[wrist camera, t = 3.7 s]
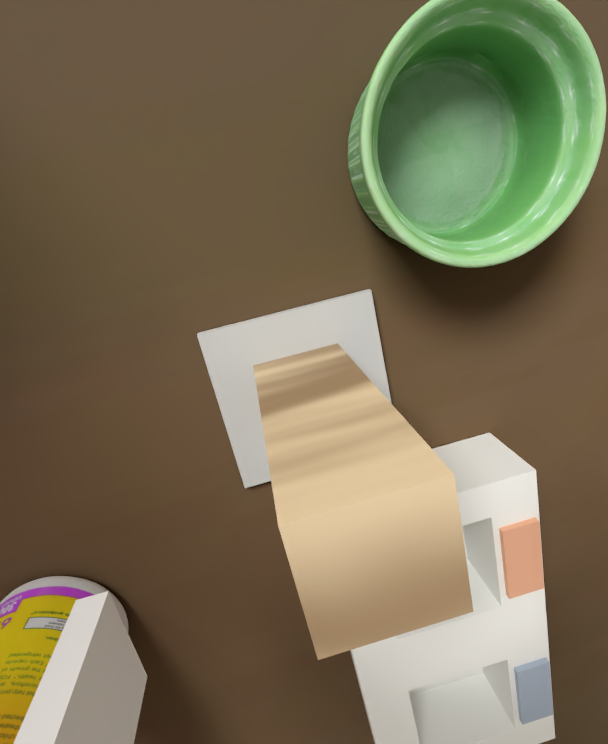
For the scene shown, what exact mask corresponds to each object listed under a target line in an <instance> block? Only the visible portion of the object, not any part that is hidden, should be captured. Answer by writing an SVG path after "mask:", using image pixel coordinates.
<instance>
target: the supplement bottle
mask: <svg viewBox="0 0 608 744" xmlns="http://www.w3.org/2000/svg"><path fill="white" fill-rule="evenodd" d="M107 591H108V590H107V589H106V588H104V587H102V586H101V585H99V584H97V583H95V582H92V581H89V580H87V579H83V578H78V577H71V576H50V577H44V578H40V579H36V580H33V581H30V582H28V583H26V584H23V585H22V586H20V587H18V588H16V589H15V590H13V591H12V592H11V593H10V594H8V595H7V596H6V597H5V598H4V599H3V600H2V601H1V602H0V744H13V743H14V741H15V739H16V736H17V734H18V732H19V730H20V727H21V725H22V723H23V720H24V718H25V716H26V713H27V711H28V709H29V707H30V704H31V702H32V700H33V697H34V695H35V693H36V691H37V688H38V686H39V684H40V681H41V679H42V677H43V675H44V672H45V670H46V668H47V665H48V663H49V661H50V658H51V656H52V654H53V652H54V649H55V647H56V645H57V642H58V640H59V638H60V636H61V633H62V631H63V629H64V626H65V624H66V622H67V619H68V617H69V615H70V613H71V610H72V608H73V606H74V603H75V601H76V600H78V599H82V598H85V597H89V596H93V595H96V594H100V593H103V592H107ZM109 593H110V595H111V597H112V600H113V602H114V604H115V606H116V608H117V610H118V613H119V615H120V617H121V619H122V621H123V624H124V626H125V628H126V630H127V632H128V629H129V628H128V619H127V616H126V613H125V610H124V608H123V606H122V605H121V603H120V602H119V600H118V599H117V598H116V597H115V596H114V595H113V594H112V593H111V592H110V591H109Z"/></svg>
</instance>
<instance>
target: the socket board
mask: <svg viewBox="0 0 608 744" xmlns="http://www.w3.org/2000/svg"><path fill="white" fill-rule="evenodd" d="M432 450H433V451H434V452H435V453H436V454H437V456H438V457H439V458H440V459H441V460H442V461H443V462H444V463H445V464H446V466H447V467H448V468H449V469H450V470H451V471H452V472H453V473H454V475H455V482H456V489H457V496H458V504H459V511H460V518H461V525H462V533H463V540H464V547H465V554H466V561H467V569H468V576H469V583H470V590H471V597H472V605H473V612H471V613H468V614H465V615H461V616H458V617H455V618H452V619H449V620H445V621H442V622H439V623H436V624H432V625H429V626H426V627H423V628H420V629H416V630H413V631H410V632H407V633H404V634H400V635H397V636H394V637H391V638H388V639H384V640H381V641H378V642H375V643H371V644H368V645H365V646H362V647H359V648H355V649H352V650H350V652H351V656H352V660H353V663H354V667H355V671H356V675H357V679H358V683H359V686H360V690H361V694H362V698H363V702H364V705H365V709H366V713H367V717H368V721H369V724H370V728H371V732H372V735H373V739H374V743H375V744H539V743H542V742H545V741H548V740H551V739H554V738H555V728H554V714H553V701H552V687H551V673H550V659H549V645H548V631H547V617H546V603H545V589H544V575H543V561H542V548H541V534H540V520H539V506H538V492H537V478H536V470H535V469H534V468H533V467H531V466H530V465H529V464H528V463H527V462H525V461H524V460H523V459H522V458H520V457H519V456H518V455H517V454H515V453H514V452H513V451H512V450H510V449H509V448H508V447H507V446H505V445H504V444H503V443H502V442H501V441H499V440H498V439H497V438H496V437H494V436H493V435H492V434H491V433H486V434H483V435H479V436H476V437H472V438H469V439H465V440H461V441H458V442H454V443H451V444H447V445H444V446H440V447H437V448H433V449H432Z"/></svg>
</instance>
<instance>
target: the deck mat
mask: <svg viewBox="0 0 608 744" xmlns="http://www.w3.org/2000/svg"><path fill="white" fill-rule="evenodd" d="M197 337H198V340H199V343H200V346H201V349H202V353H203V356H204V359H205V362H206V365H207V369H208V372H209V375H210V378H211V381H212V385H213V388H214V391H215V394H216V397H217V401H218V404H219V407H220V410H221V413H222V417H223V420H224V423H225V426H226V429H227V433H228V436H229V439H230V442H231V445H232V448H233V452H234V455H235V458H236V461H237V464H238V468H239V471H240V474H241V477H242V480H243V484H244V487H245V488H248V487H251V486H255V485H258V484H262V483H265V482H269V481H271V476H270V470H269V464H268V457H267V451H266V445H265V438H264V432H263V425H262V419H261V413H260V406H259V400H258V394H257V387H256V381H255V375H254V368H253V365H257V364H261V363H264V362H268V361H272V360H276V359H280V358H283V357H287V356H291V355H295V354H299V353H302V352H306V351H310V350H314V349H318V348H321V347H325V346H329V345H333V344H337V343H338V344H339V346H340V347H341V348H342V349H343V350H344V351H345V352H346V353H347V355H348V356H349V357H350V358H351V359H352V360H353V361H354V362H355V364H356V365H357V366H358V367H359V368H360V369H361V370H362V371H363V373H364V374H365V375H366V376H367V377H368V378H369V379H370V380H371V381H372V383H373V384H374V385H375V386H376V387H377V388H378V389H379V390H380V392H381V393H382V394H383V395H384V396H385V397H386V398H387V399H388V401H389V402H390V403H391V398H390V392H389V386H388V381H387V375H386V370H385V364H384V359H383V353H382V347H381V342H380V336H379V331H378V325H377V320H376V314H375V308H374V303H373V297H372V292H371V290H370V289H367V290H363V291H359V292H355V293H352V294H348V295H344V296H340V297H336V298H332V299H328V300H324V301H320V302H316V303H313V304H309V305H305V306H301V307H297V308H293V309H289V310H285V311H281V312H277V313H274V314H270V315H266V316H262V317H258V318H254V319H250V320H246V321H242V322H238V323H235V324H231V325H227V326H223V327H219V328H215V329H211V330H207V331H203V332H199V333H197ZM391 404H392V403H391Z"/></svg>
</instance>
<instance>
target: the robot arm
mask: <svg viewBox="0 0 608 744" xmlns="http://www.w3.org/2000/svg"><path fill="white" fill-rule="evenodd" d="M146 681H147V674H146V672H145V670H144V668H143V665H142V663H141V661H140V659H139V657H138V654H137V652H136V650H135V648H134V646H133V643H132V641H131V639H130V637H129V635H128V632H127V630H126V628H125V626H124V624H123V621H122V619H121V617H120V615H119V613H118V610H117V608H116V606H115V604H114V602H113V600H112V597H111V595H110V593H109V591H107V592H103V593H100V594H96V595H93V596H89V597H85V598H82V599H78V600H76V601H75V603H74V606H73V608H72V610H71V613H70V615H69V617H68V619H67V622H66V624H65V626H64V629H63V631H62V633H61V636H60V638H59V640H58V642H57V645H56V647H55V649H54V652H53V654H52V656H51V658H50V661H49V663H48V665H47V668H46V670H45V672H44V675H43V677H42V679H41V681H40V684H39V686H38V688H37V691H36V693H35V695H34V697H33V700H32V702H31V704H30V707H29V709H28V711H27V713H26V716H25V718H24V720H23V723H22V725H21V727H20V730H19V732H18V734H17V736H16V739H15V741H14V743H13V744H134V740H135V735H136V730H137V725H138V720H139V715H140V710H141V705H142V701H143V696H144V691H145V686H146Z"/></svg>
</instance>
